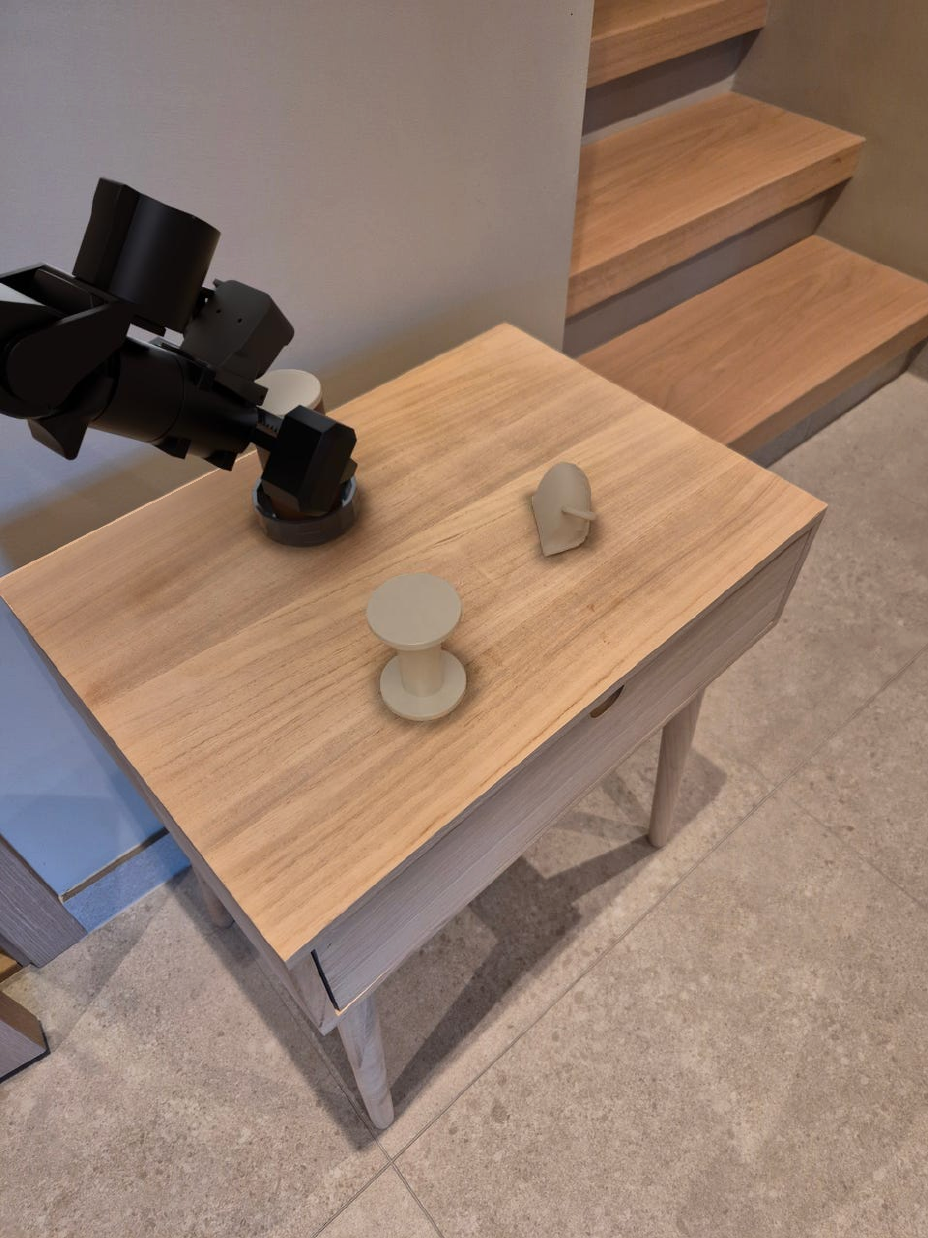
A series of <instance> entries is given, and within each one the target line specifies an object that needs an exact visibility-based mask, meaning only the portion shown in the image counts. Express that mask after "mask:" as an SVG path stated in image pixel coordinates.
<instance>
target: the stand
mask: <svg viewBox="0 0 928 1238" xmlns="http://www.w3.org/2000/svg"><path fill="white" fill-rule="evenodd" d="M365 617H366V622H367V625H368V628H369V630H370V632H371V633H372V635H373V636H374V637H375V638H376V639H377V640H378V641H379V642H381V643H382V644H384V645H386V646H388V647H390V648H393V649H396V652H397V654H396V655H395V656H394V657H392V658H391V659H390V660H389V661H388V662H387V664H386V665H385V666H384V668H383V669H382V672H381V675H380V678H379V690H380V695H381V698H382V700H383V703H384V704H385V705H386V707H387V708H388V709H389V710H390V711H391V712H393V713H394V714H395V715H397V716H398V717H401V718H403V719H405V720H409V721H414V722H429V721H433V720H437V719H440V718H442V717H443V718H444V717H445V716H447V715H448V714H450V713H451V712H453V711H454V710H456V708H457V707H458V706H459V705H460V704H461V702H462V700H463V699H464V697H465V694H466V691H467V674H466V670H465V668H464V666H463V664H462V663H461V661H460V660H459V659H458V658H457V657H456V656H455V655H453V654H452V653H451V652H449V651H447V650H445V649H442V643H443V642H445V641H447V640H448V639H449V638H451V636H452V635H454V633H455V632H456V631H457V629H458V628H459V626H460V624H461V621H462V618H463V601H462V598H461V595H460V593H459V592H458V590H457V589H456V587H455V586H454V585H453V584H451V583H450V582H449V581H447V580H446V579H445V578H442V577H440V576H438V575H435V574H432V573H428V572H427V573H426V572H408V573H403V574H399V575H396V576H393V577H391V578H389V579H387V580H385V581H384V582H382V583H381V584H380V585H378V586H377V587H376V588H375V589H374V591H373V592H372V593H371V594H370V596H369V598H368V600H367V603H366V607H365Z"/></svg>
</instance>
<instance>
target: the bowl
mask: <svg viewBox="0 0 928 1238" xmlns="http://www.w3.org/2000/svg"><path fill="white" fill-rule="evenodd" d="M339 486H340V491H341V497H342V504H341V505H340V506H339V507H338V508H337V509H336V510H335V511H332V512H330V513H328V514H326V515H324V516H322V517H320V518H316V519H310V520H304V521H290V520H281V519H278V518H276V516H275V513H274V510H273V506H272V503H271V499H270V496H269V495H267V494H265V492H264V489H263V485H262V482H261V475H260V476H259V477H258V478H257V480H256V482H255V484H254V485H253V488H252V490H251V496H252V500H251V501H252V506H253V510H254V513H255V516H256V519H257V522H258V524H259V526H260V528H261V530H262V532H263V534H265V535H266V537H268V538H269V539H270V540H272V541H274V542H276V543H278V544H280V545H283V546H287V547H291V548H310V547H318V546H321V545H325V544H329V543H330V542H333V541H336V540H338V538H340V537H342V536H344V535H345V534H346V533H347V532H348V531H350V530H351V529H352V528H353V526H354V525H355V524H356V522H357V521H358V518H359V515H360V512H361V501H360V495H359V490H358V484H357V480H356V473H354V476H353V477H352V478H350V479H348V480H347V481H345V482H343V483H341V484H339Z"/></svg>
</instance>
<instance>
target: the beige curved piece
mask: <svg viewBox="0 0 928 1238" xmlns="http://www.w3.org/2000/svg"><path fill="white" fill-rule="evenodd" d="M530 500H531V505H532V509H533V513H534V517H535V521H536V525H537V529H538V536H539V541H540V546H541V550H542V553H543V556H544V557H545V558H547V557H549V556H553V555H556V554H559V553H562V552H566V551H568V550H572V549H575V548H577V547H579V545H581V544H582V543H584V542H585V539H586V537H587V536H588V535H589V529H590V527H591V524H590V523H591V522H596V521H597V520H598V517H599V516H598V514H597V513H596V512H593V511H591V506H592V488H591V485H590V482H589V479H588V476H587V475H586V473H584V471H583V469H582V468H581V467H579V466H578V465H577V464H576V463H571V462H568V461H561V462H557V463H555V464H554V465H552V466H551V467H550V468H549V469H548V470H547V471H546V472H545V474H544V475H543V477H542V478H541V480H540V482H539V483H538V485H537V488H536V490H535V493H534V495H532V496H531V499H530Z"/></svg>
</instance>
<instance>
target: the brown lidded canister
mask: <svg viewBox="0 0 928 1238" xmlns="http://www.w3.org/2000/svg"><path fill="white" fill-rule="evenodd" d="M255 383H258V384H260V385H262V386H264V387H266V388H268V389H269V390H268V392H267V395H266V397H265V400H264V403H263V405H262V406H259V407H261V408H263V409H265V410H267V411H269V412H271V413H273V414H275V415H277V416H279V417H281V418H283V419H284V416H285V414H287V413H288V412H289V411H291V410H292V409H294V408H295V407H297V406H298V405H302V406H305V407H307V408H310V409H312V410H314V411H317V412H319V413H321V414H324V415H326V409H325V404H324V399H323V398H324V397H323V390H322V385H321V382H320V381H319V379H318V378H317V377H316V376H315V375H313V374H312V373H310V372H307V371H305V370H300V369H294V368H283V369H276V370H272V371H267V372H266V373H265V374H264V375H263V376H262V377H261V378H259V379H257V380H255ZM326 416H327V415H326ZM257 426H258V427H260V428H262V429H264V430H266V431H268V432H270V433H272V434H273V435H275V436H277V434H278V433H276V432H274V431H272V430H271V429H268V428H267V427H264V426H263V425H260V424H259V423H257ZM255 449H256V452H257V456H258V459H259V462H260V463H259V464H260V466H261V471H263V470H264V467H265V465H266V462H267V460H268V457H269V455H270V452H268V451H267V450H265V449H263V448H261V447H259V446H257V445H255ZM270 499H271V503H272V506H273V510H274V513H275V516H276V518H278V519H281V520H290V521H304V520H310V519H316V518H320V517H322V516H324V515H326V514H328V513H330V512H332V511H335V510H336V509H337V508H338V507H339V506H340V505H341V504H342V497H341V491H340V486H338V488H337V491H336V493H335V495H334V498H333V500H332V503H331V505H330V508H329V510H328V512H327V513H325V514H323V515H321V516H319V517H316V516H311V515H307V514H302V513H299V512H298V511H296V510H294V509H292V508H290V507H289V506H287V505H285V504H283V503H282V502H280V501H278V500H276V499H274V498H273V497H271V496H270Z"/></svg>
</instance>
